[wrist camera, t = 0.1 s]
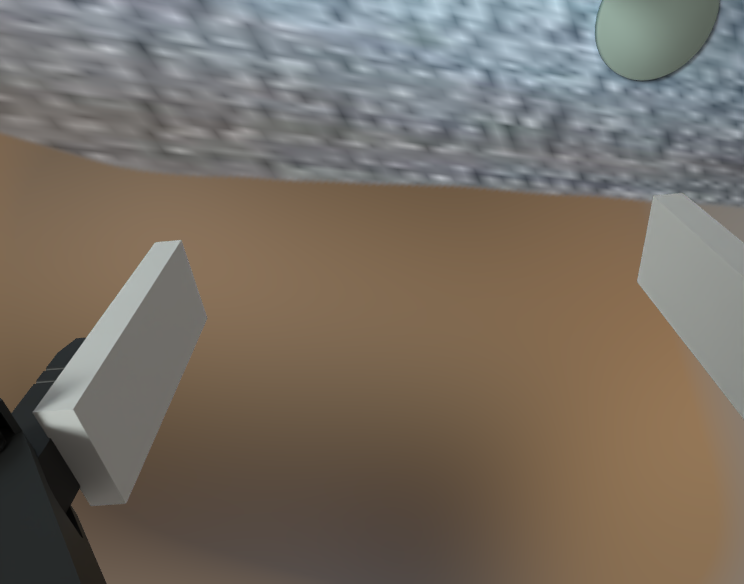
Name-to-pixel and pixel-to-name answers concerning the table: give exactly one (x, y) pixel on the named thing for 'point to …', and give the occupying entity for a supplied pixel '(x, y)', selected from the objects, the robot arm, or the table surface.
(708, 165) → the table surface
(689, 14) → the pad
